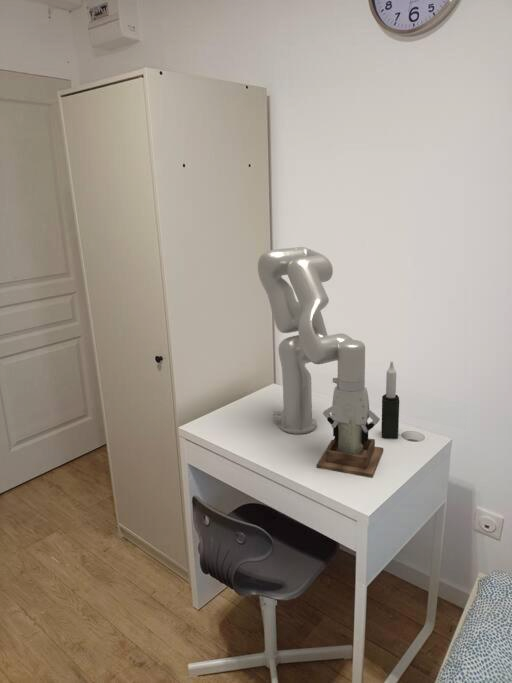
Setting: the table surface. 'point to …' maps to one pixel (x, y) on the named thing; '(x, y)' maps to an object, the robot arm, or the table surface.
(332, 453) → the tray
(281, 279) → the robot arm
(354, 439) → the skincare box
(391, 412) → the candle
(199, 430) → the table surface
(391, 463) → the table surface
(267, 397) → the table surface
